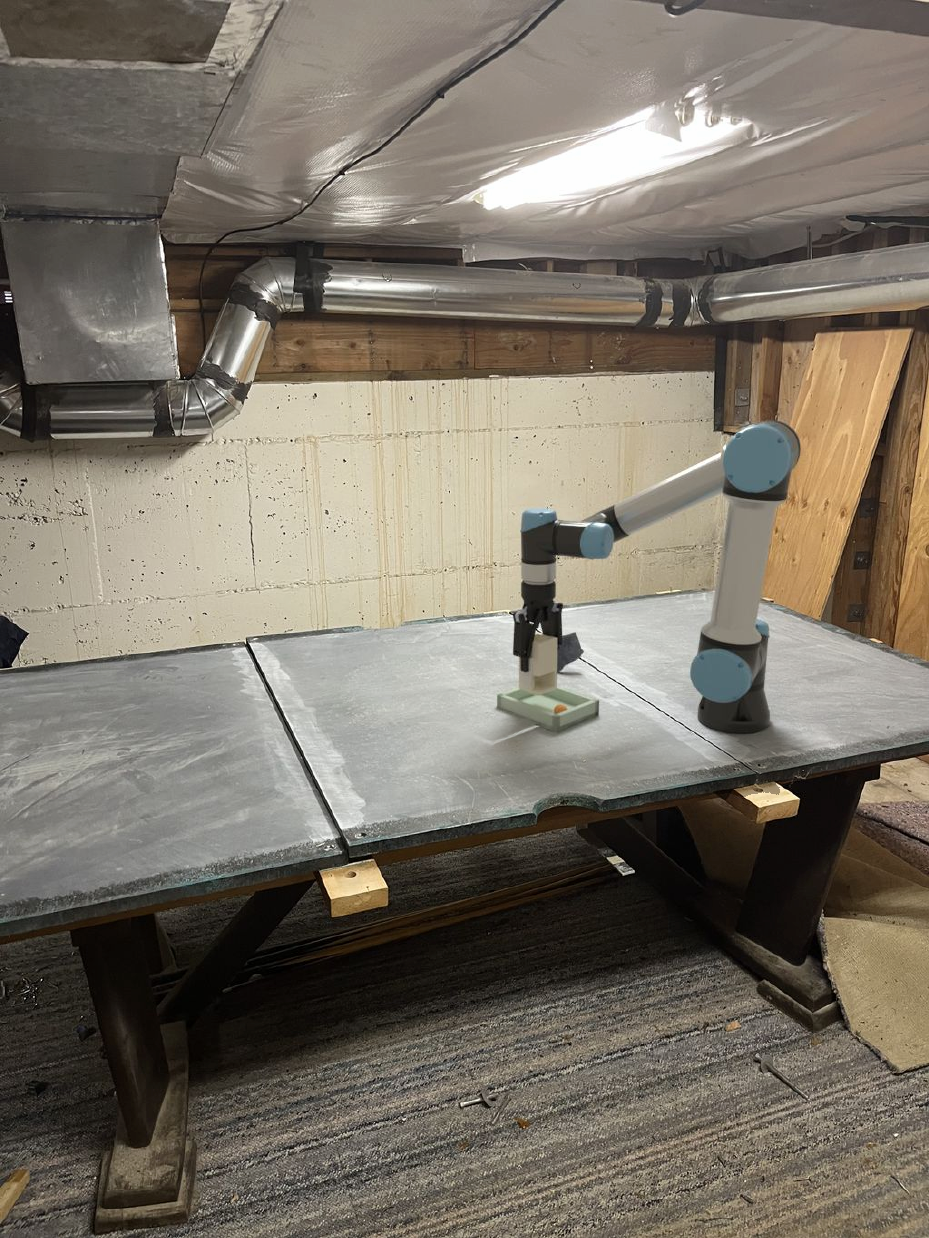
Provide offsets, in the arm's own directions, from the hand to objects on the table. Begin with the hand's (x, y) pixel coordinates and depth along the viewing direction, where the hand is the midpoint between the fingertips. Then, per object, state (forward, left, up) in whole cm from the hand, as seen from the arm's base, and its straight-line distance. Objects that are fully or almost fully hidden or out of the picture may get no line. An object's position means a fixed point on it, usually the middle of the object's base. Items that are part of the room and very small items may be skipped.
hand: (537, 680), depth 200 cm
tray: (-2, -1, -7) cm, 7 cm away
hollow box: (0, 0, -2) cm, 2 cm away
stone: (+15, -22, -7) cm, 27 cm away
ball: (-7, +1, -3) cm, 8 cm away
